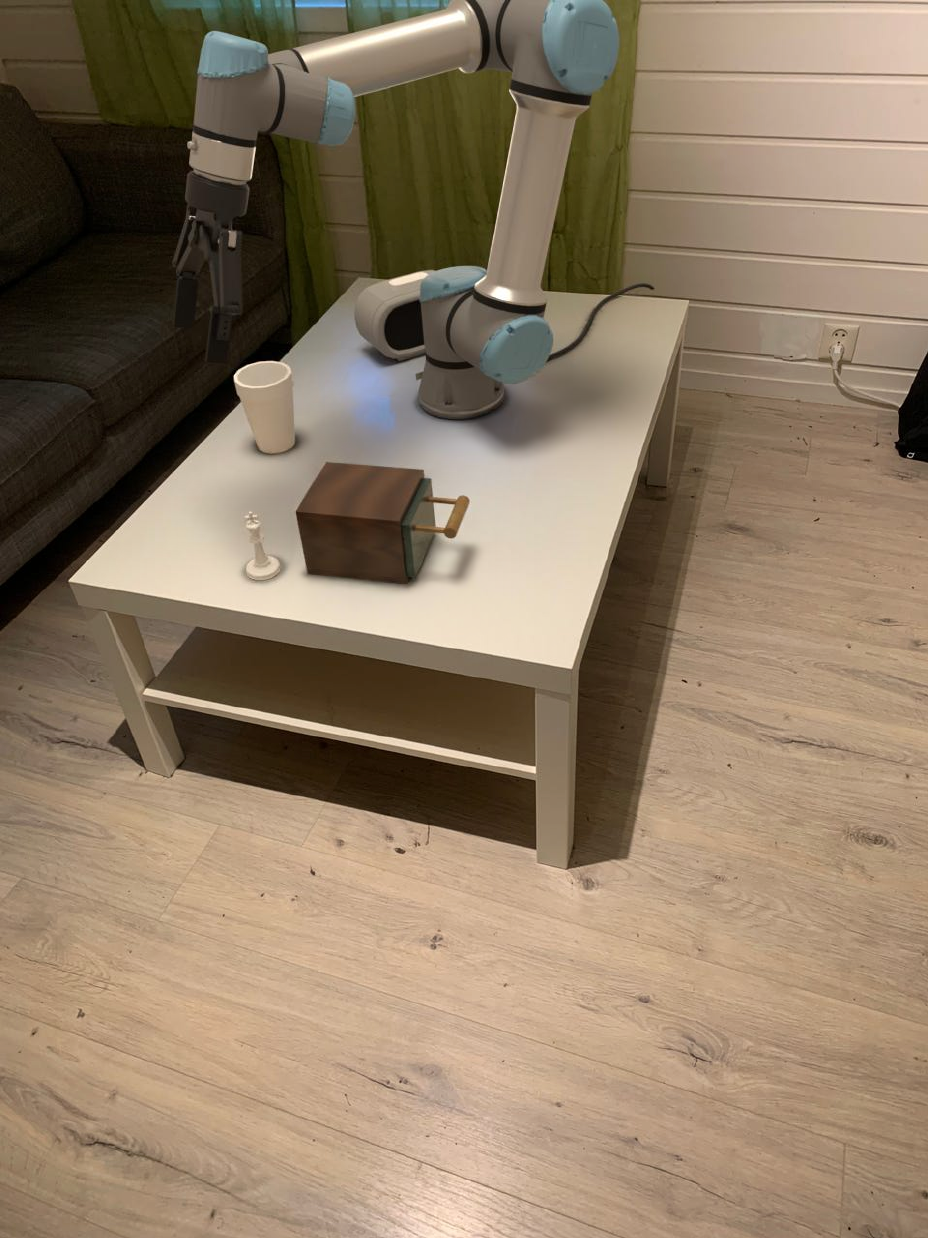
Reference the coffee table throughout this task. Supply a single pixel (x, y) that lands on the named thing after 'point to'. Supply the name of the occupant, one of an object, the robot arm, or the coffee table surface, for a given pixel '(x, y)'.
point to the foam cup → (268, 403)
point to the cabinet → (357, 521)
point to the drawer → (427, 524)
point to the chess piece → (259, 554)
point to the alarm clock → (393, 316)
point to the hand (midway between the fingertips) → (198, 344)
